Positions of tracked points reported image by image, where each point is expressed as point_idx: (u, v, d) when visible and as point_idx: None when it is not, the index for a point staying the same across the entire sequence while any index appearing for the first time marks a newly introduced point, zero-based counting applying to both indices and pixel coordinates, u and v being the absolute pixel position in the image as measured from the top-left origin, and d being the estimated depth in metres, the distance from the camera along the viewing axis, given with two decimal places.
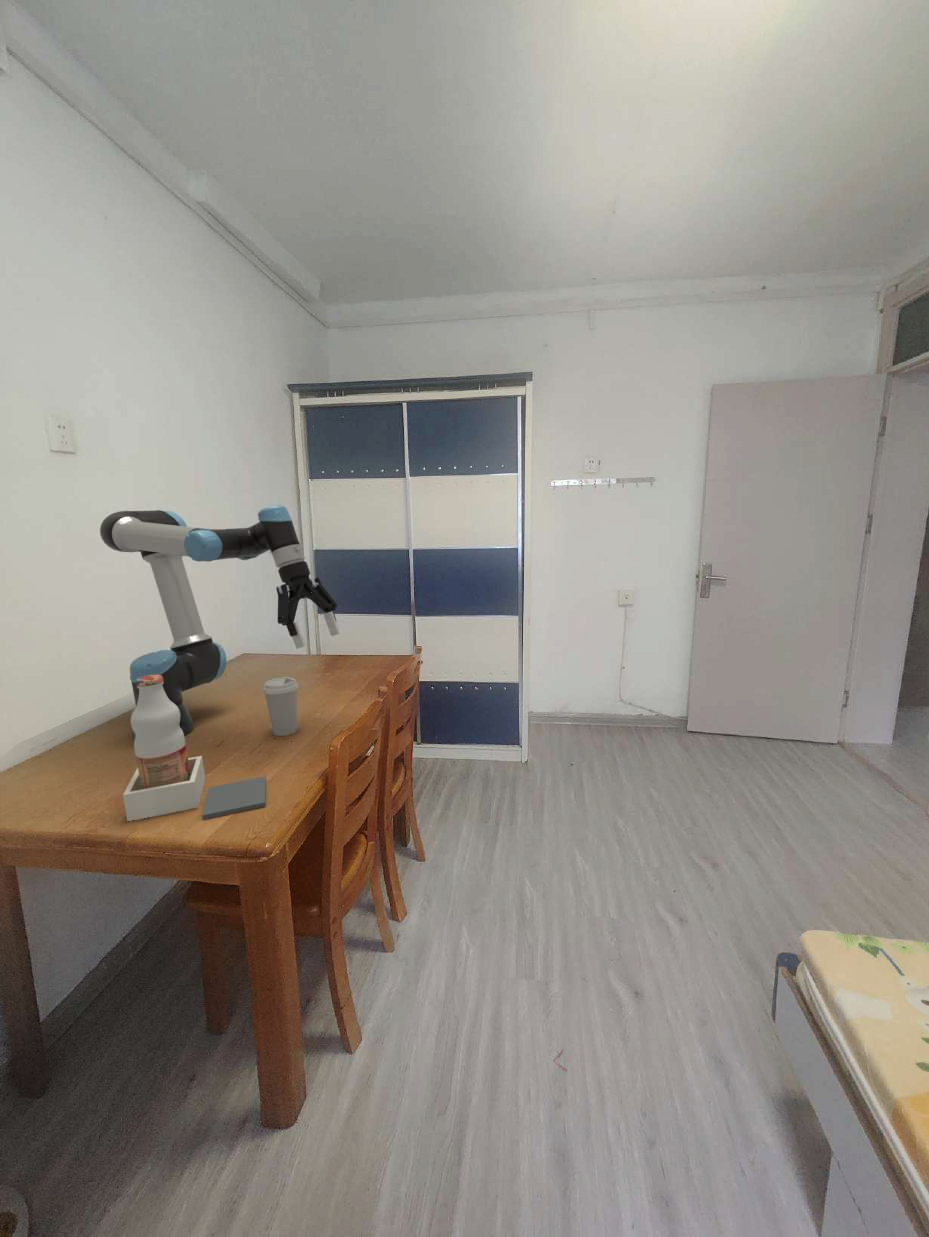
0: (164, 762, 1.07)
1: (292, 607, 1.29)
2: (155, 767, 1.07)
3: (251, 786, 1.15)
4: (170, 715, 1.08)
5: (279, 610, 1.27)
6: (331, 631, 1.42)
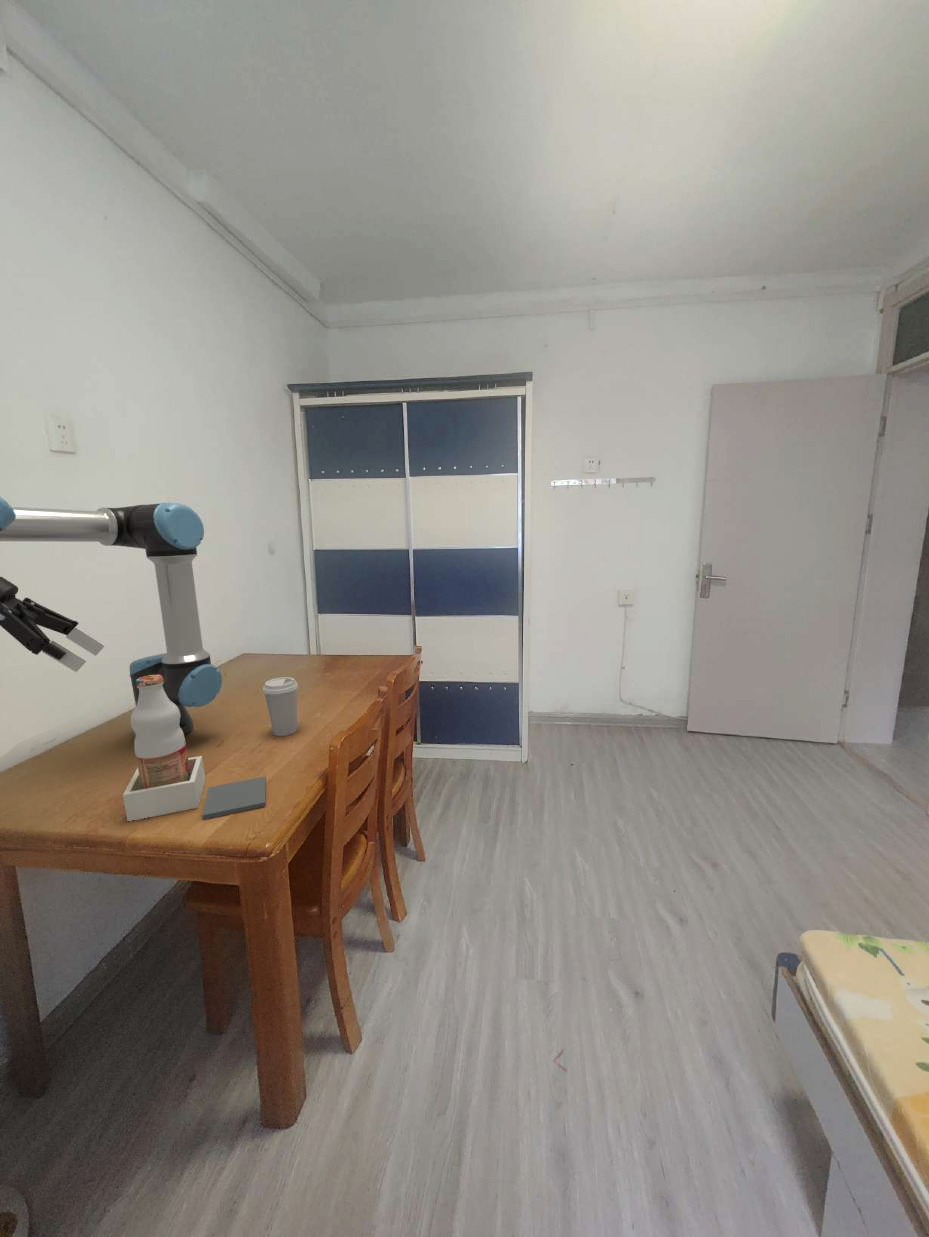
0: (164, 762, 1.07)
1: None
2: (155, 767, 1.07)
3: (251, 786, 1.15)
4: (170, 715, 1.08)
5: None
6: None
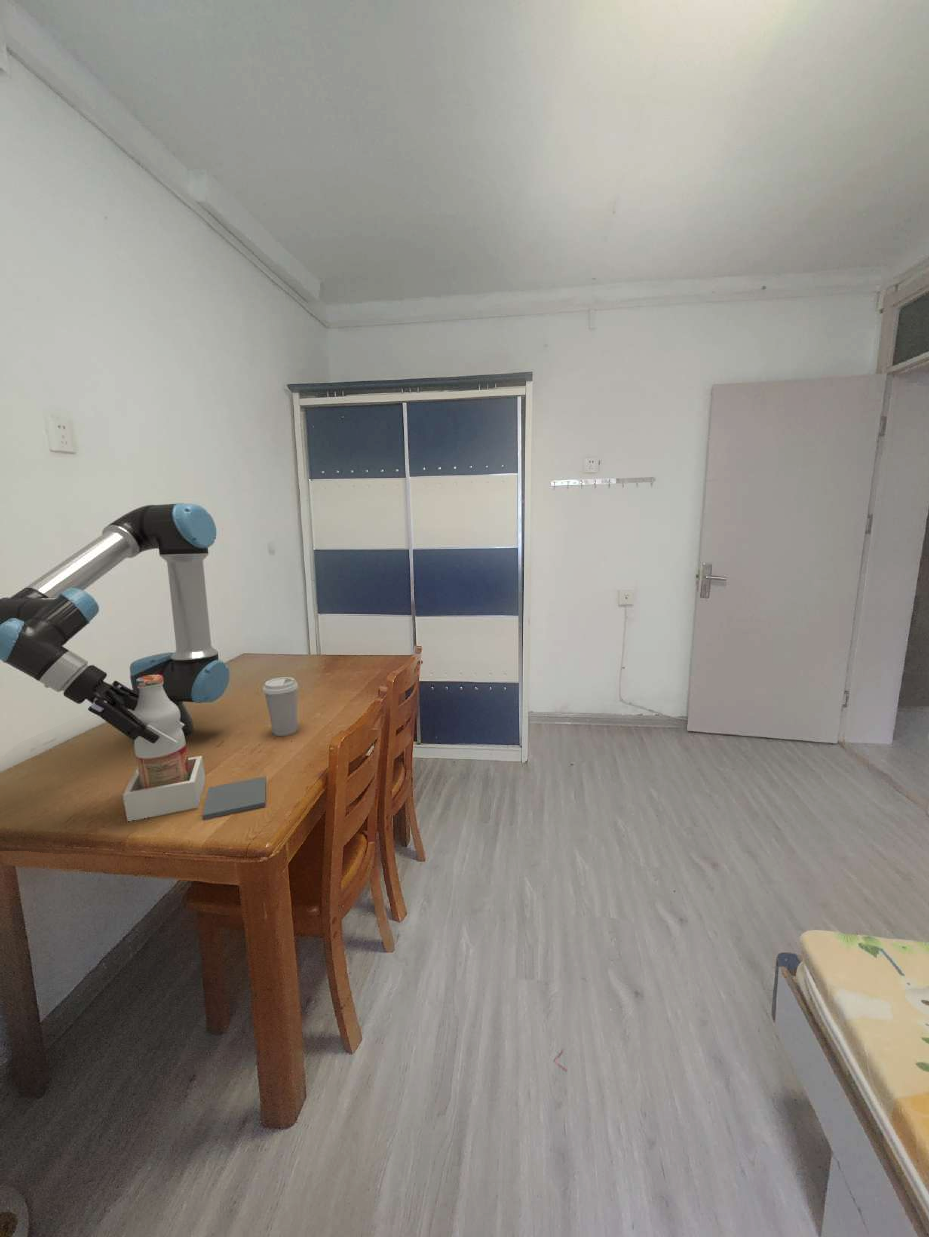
0: (164, 762, 1.07)
1: None
2: (155, 767, 1.07)
3: (251, 786, 1.15)
4: (170, 715, 1.08)
5: None
6: None
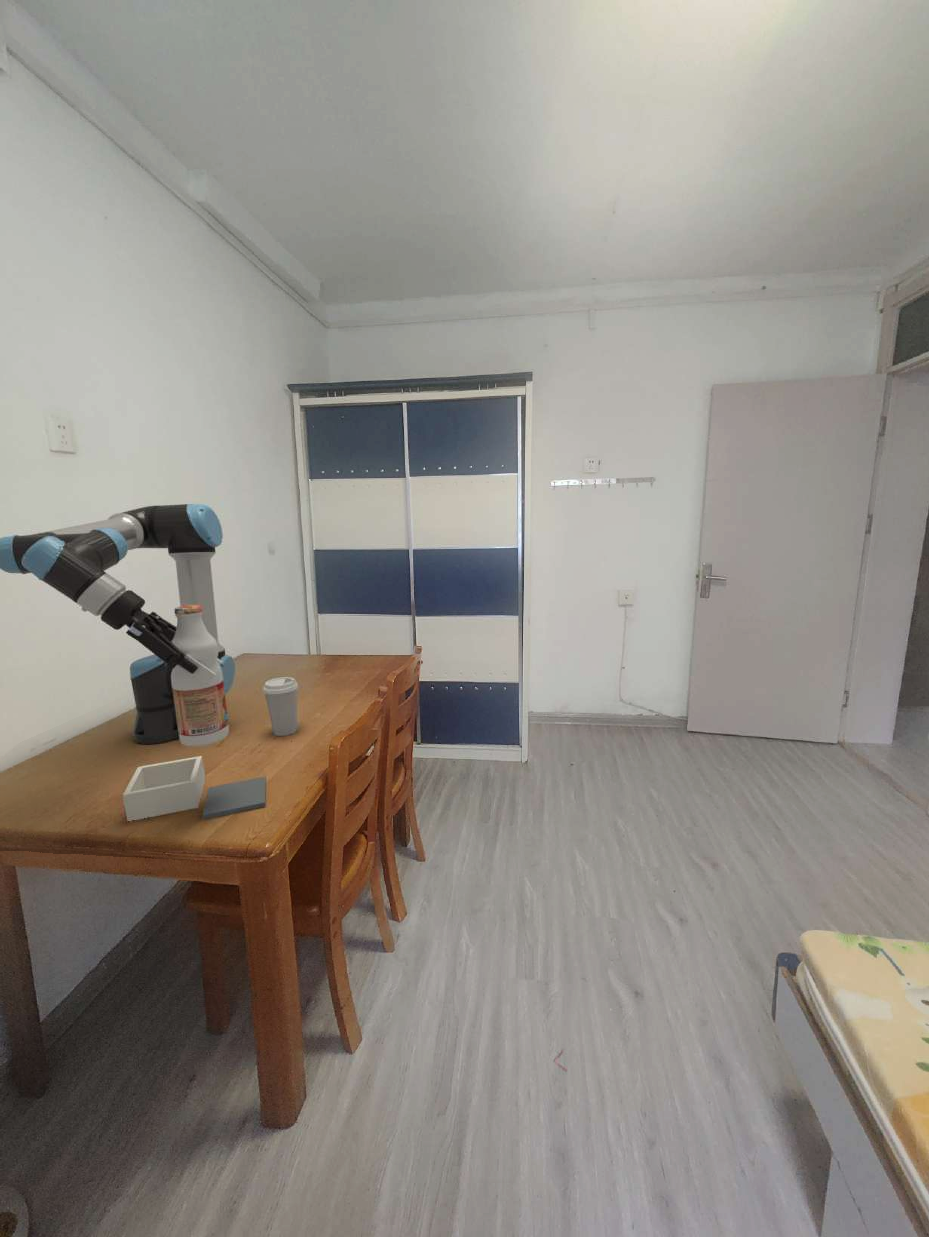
0: (202, 695, 1.02)
1: None
2: (192, 700, 1.02)
3: (251, 786, 1.15)
4: (209, 647, 1.02)
5: None
6: None
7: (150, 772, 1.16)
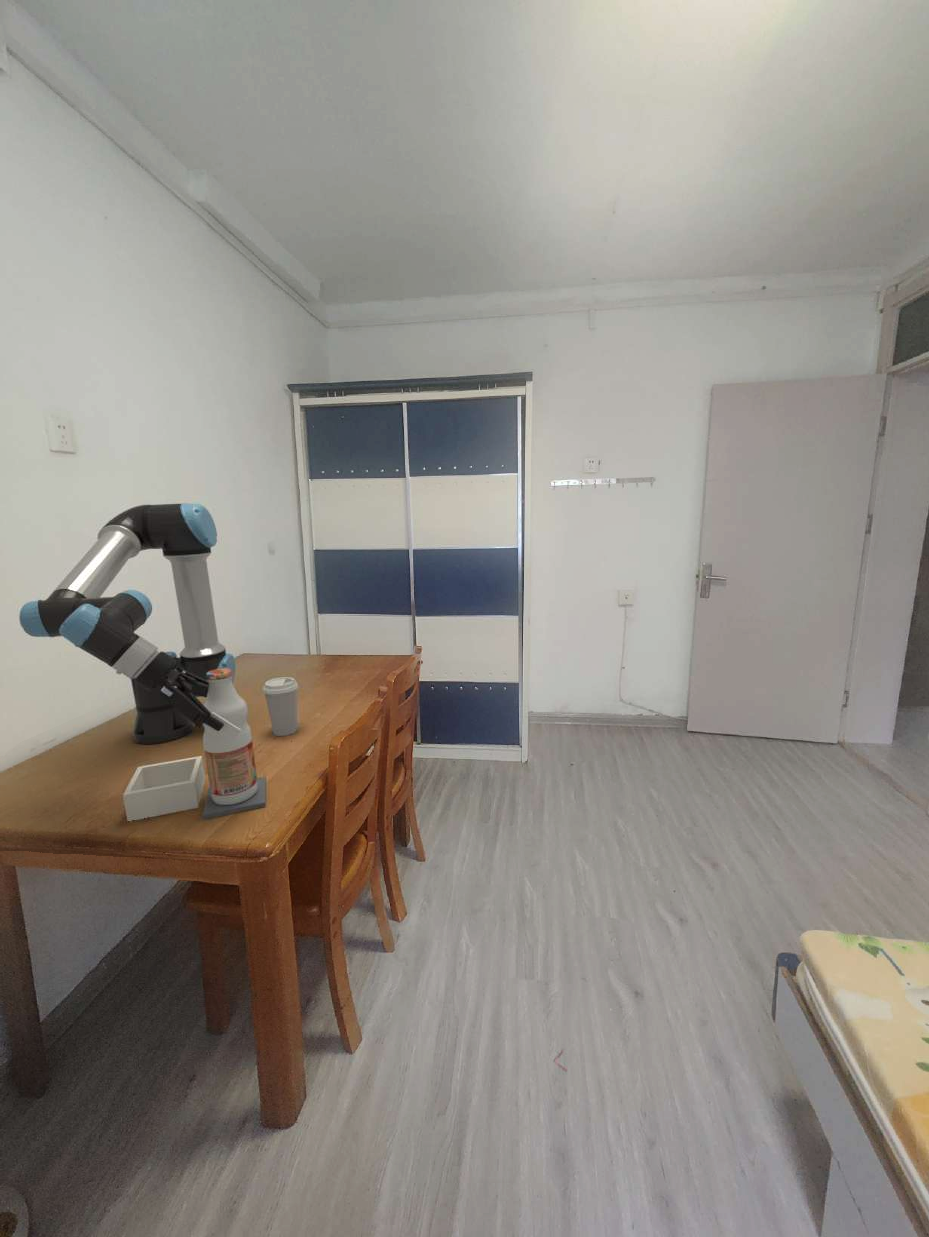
0: (234, 756, 1.06)
1: None
2: (225, 762, 1.06)
3: None
4: (240, 710, 1.07)
5: None
6: None
7: (150, 772, 1.16)
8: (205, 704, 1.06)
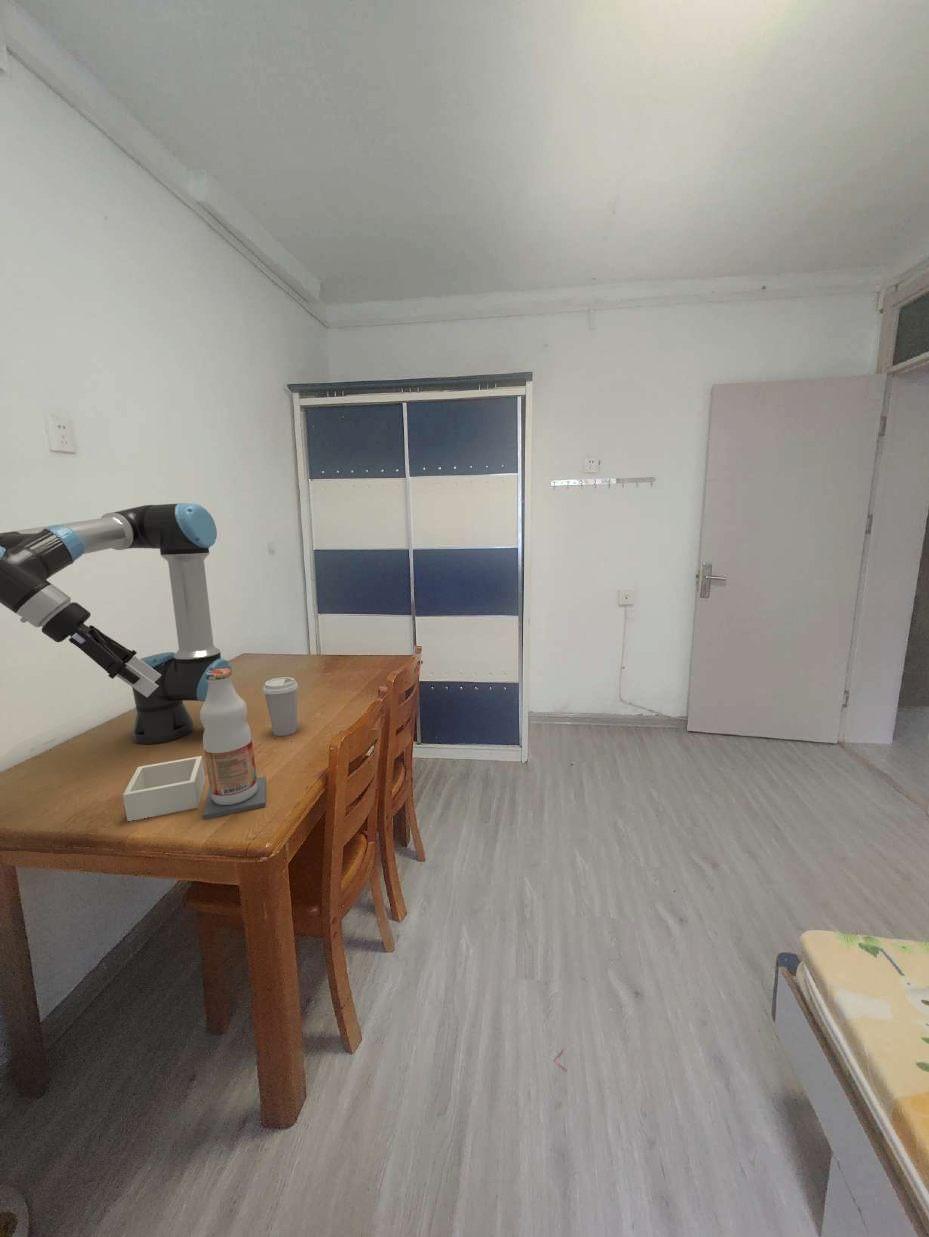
0: (233, 756, 1.06)
1: None
2: (224, 762, 1.06)
3: None
4: (239, 710, 1.07)
5: None
6: None
7: (150, 772, 1.16)
8: (204, 704, 1.06)
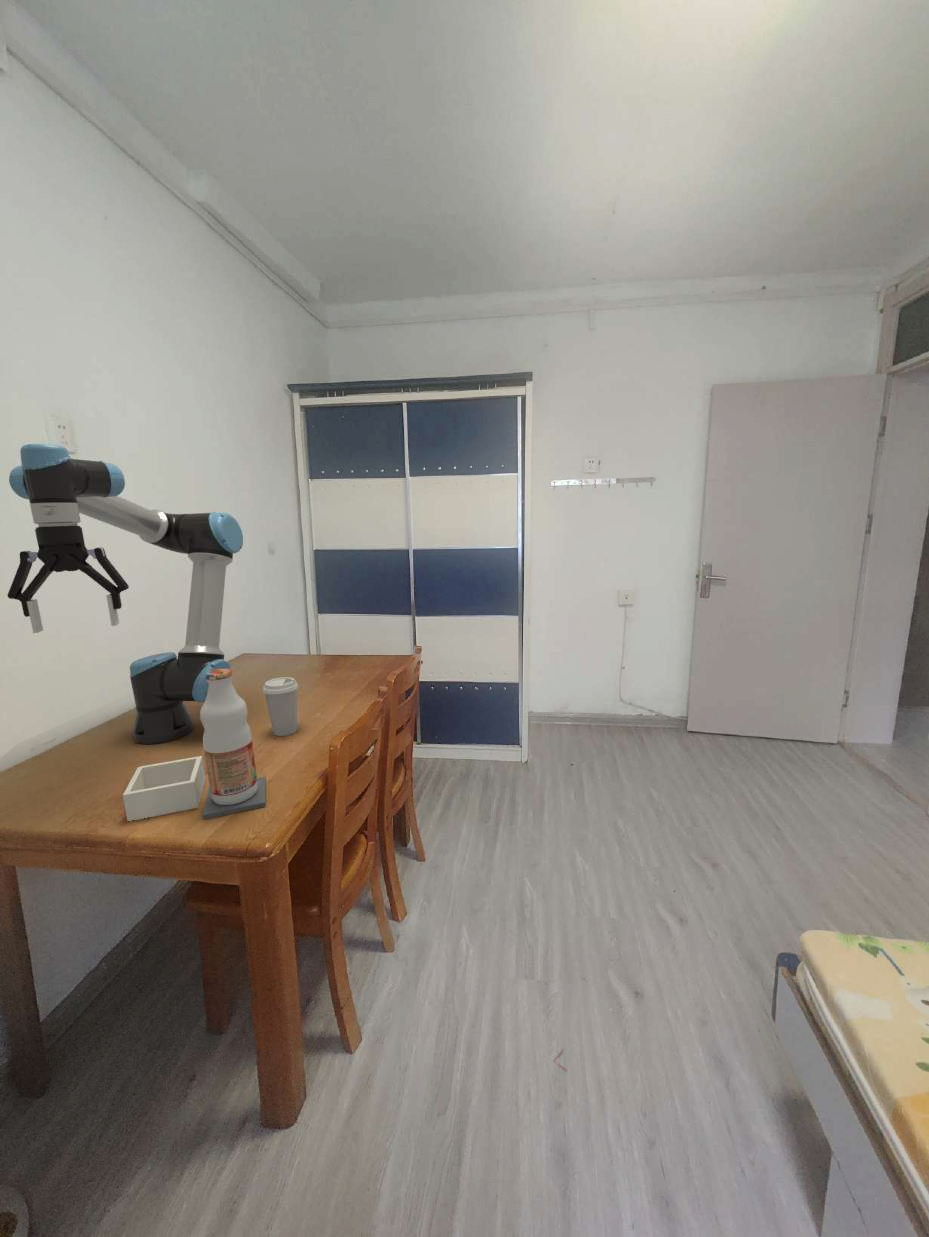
0: (234, 757, 1.06)
1: (31, 582, 1.03)
2: (225, 762, 1.06)
3: None
4: (239, 710, 1.06)
5: None
6: None
7: (150, 772, 1.16)
8: (205, 704, 1.05)
